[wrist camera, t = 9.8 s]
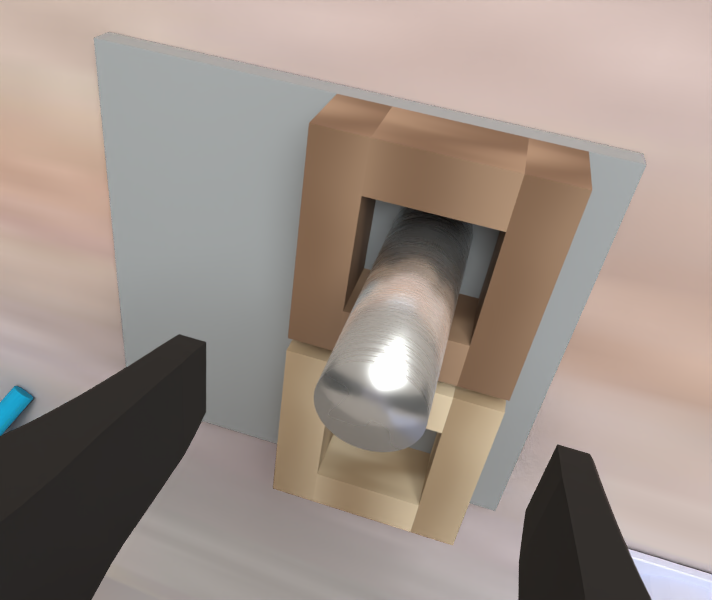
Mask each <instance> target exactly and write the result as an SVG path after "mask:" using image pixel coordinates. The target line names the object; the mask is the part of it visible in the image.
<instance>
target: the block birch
mask: <svg viewBox="0 0 712 600" xmlns="http://www.w3.org/2000/svg"><path fill="white" fill-rule="evenodd" d="M331 353H332V351H331V350H328V349H324V348H321V347H317V346H314V345H310V344H307V343H303V342H300V341H296V340H292V341H291V343H290V345H289V347H288V348H287V350H286V360H285V371H284V381H283V391H282V401H281V411H280V421H279V432H278V442H277V452H276V462H275V472H274V482H273V489H276V490H279V491H283V492H286V493H289V494H292V495H295V496H298V497H302V498H305V499H308V500H311V501H314V502H317V503H320V504H324V505H327V506H330V507H333V508H336V509H339V510H343V511H346V512H349V513H352V514H355V515H358V516H362V517H365V518H368V519H371V520H374V521H377V522H380V523H384V524H387V525H390V526H393V527H396V528H399V529H403V530H406V531H409V532H412V533H415V534H418V535H422V536H425V537H428V538H431V539H434V540H437V541H440V542H444V543H447V544H450V545H453V543H454V541H455V538H456V536H457V533H458V530H459V528H460V525H461V523H462V520H463V518H464V515H465V513H466V510H467V508H468V505H469V503H470V500H471V497H472V495H473V492H474V490H475V487H476V485H477V482H478V480H479V477H480V475H481V472H482V470H483V467H484V464H485V462H486V459H487V457H488V454H489V452H490V449H491V447H492V444H493V442H494V439H495V436H496V434H497V431H498V429H499V426H500V424H501V421H502V419H503V416H504V414H505V407H506V400H504V399H500V398H497V397H493V396H490V395H486V394H483V393H479V392H476V391H472V390H469V389H465V388H462V387H458V386H455V385H451V384H448V383H444V382H441V381H438V382H437V386H436V390H435V394H434V398H433V403H432V407H431V411H430V415H429V419H428V423H427V427H426V429H429V430H433V431H436V432H437V434H436V437H435V440H434V444H433V447H432V450H431V453H426V452H423V451H420V450H416V449H413V448H409V447H407V448H405V449H402V450H399V451H394V452H374V451H368V450H364V449H360V448H357V447H355V446H352V445H350V444H348V443H346V442H344V441H343V440H341V439H339V438H338V437H337V436H335V435H334V434H333V433H332V432H331V431H330V430H328V429H327V427H326V426H325V425H324V424H323V422H322V421H321V420H320V418H319V416H318V414H317V412H316V409H315V405H314V390H315V387H316V385H317V382H318V380H319V378H320V376H321V374H322V372H323V370H324V368H325V366H326V364H327V361H328V359H329V357H330V355H331Z"/></svg>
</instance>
